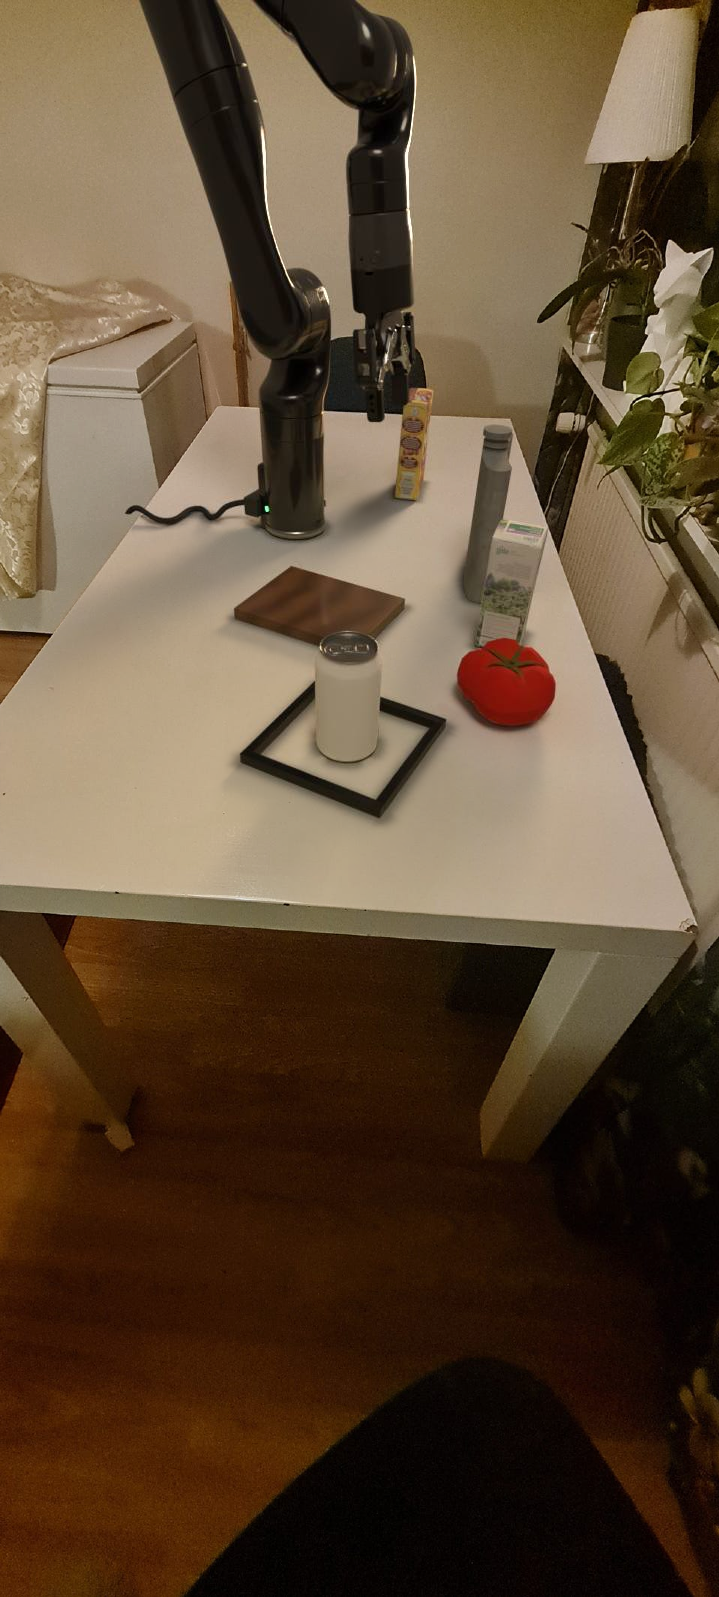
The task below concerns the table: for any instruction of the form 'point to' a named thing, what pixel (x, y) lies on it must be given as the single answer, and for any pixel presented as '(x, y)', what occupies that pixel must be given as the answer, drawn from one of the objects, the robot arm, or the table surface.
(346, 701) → the can
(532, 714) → the tomato
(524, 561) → the syrup box
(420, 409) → the candy box
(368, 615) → the board
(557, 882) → the table surface
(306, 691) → the black square frame
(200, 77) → the robot arm
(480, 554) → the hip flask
